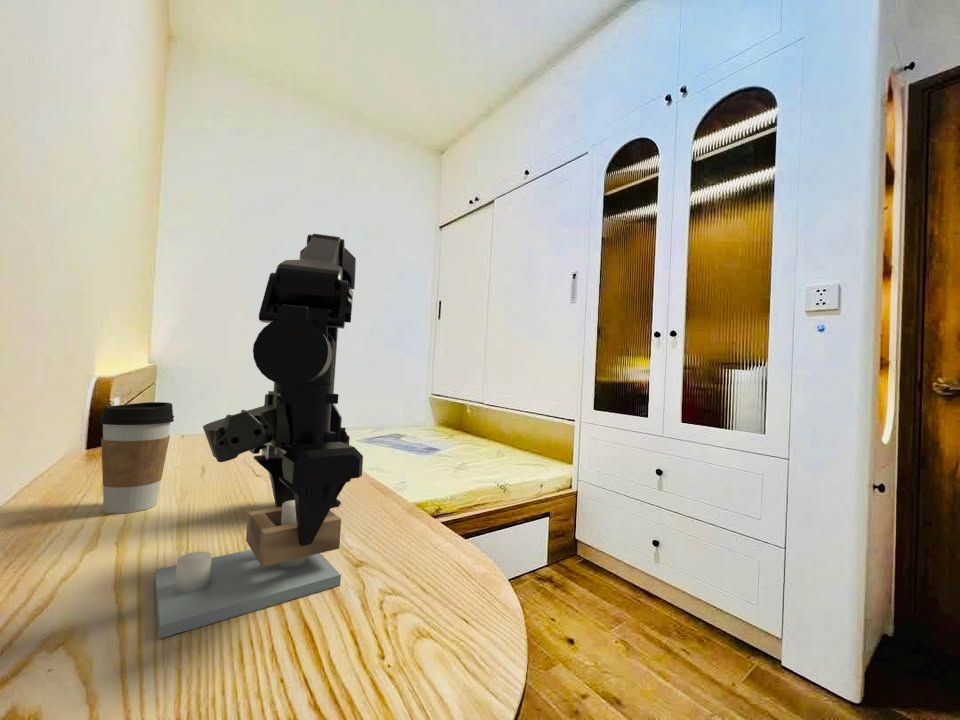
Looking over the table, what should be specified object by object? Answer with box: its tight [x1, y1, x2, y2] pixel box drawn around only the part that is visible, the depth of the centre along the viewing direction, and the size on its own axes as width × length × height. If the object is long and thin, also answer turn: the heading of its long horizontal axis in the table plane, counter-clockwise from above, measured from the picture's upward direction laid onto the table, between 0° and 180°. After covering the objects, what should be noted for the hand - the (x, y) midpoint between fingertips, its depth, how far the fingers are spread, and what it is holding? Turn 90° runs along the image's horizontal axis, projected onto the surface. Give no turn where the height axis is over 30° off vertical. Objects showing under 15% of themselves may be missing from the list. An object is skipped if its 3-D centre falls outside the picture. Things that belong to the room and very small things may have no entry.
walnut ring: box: [245, 506, 342, 567], centre depth 42 cm, size 7×7×3 cm
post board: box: [154, 500, 342, 640], centre depth 40 cm, size 14×11×7 cm
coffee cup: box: [99, 401, 175, 515], centre depth 59 cm, size 8×8×15 cm
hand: (294, 532), depth 42 cm, fingers closed on walnut ring, 7 cm apart
